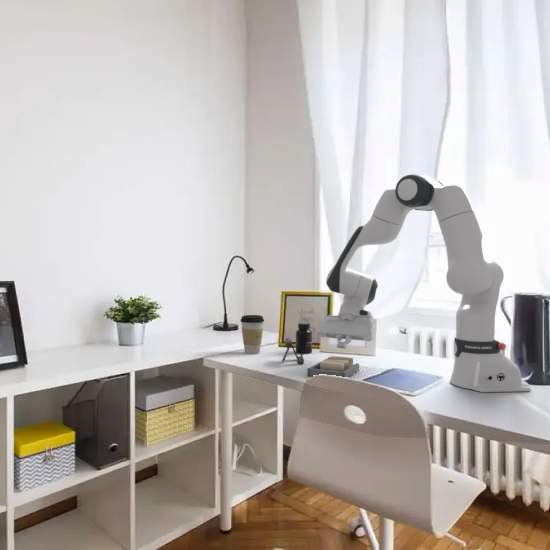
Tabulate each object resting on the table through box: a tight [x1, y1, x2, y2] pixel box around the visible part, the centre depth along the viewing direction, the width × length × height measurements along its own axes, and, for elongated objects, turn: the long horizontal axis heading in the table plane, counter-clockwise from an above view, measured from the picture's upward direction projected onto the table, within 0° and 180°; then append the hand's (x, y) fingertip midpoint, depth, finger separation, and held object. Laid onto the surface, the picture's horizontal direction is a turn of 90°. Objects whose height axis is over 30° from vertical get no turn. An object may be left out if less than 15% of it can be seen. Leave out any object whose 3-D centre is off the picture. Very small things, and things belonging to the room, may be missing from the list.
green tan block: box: [320, 355, 354, 372], centre depth 168 cm, size 4×8×11 cm
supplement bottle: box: [295, 322, 313, 355], centre depth 200 cm, size 7×7×12 cm
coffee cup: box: [239, 314, 265, 355], centre depth 200 cm, size 10×10×15 cm
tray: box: [307, 361, 360, 378], centre depth 166 cm, size 13×15×2 cm
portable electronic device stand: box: [281, 337, 305, 365], centre depth 183 cm, size 9×8×8 cm
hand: (341, 347), depth 172 cm, fingers closed
